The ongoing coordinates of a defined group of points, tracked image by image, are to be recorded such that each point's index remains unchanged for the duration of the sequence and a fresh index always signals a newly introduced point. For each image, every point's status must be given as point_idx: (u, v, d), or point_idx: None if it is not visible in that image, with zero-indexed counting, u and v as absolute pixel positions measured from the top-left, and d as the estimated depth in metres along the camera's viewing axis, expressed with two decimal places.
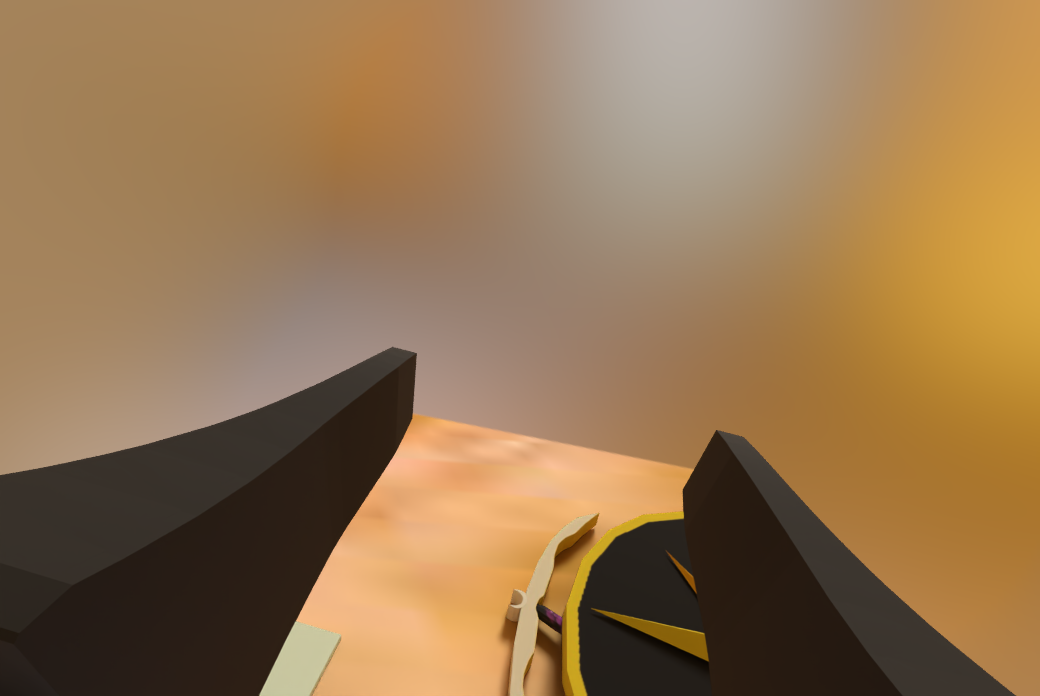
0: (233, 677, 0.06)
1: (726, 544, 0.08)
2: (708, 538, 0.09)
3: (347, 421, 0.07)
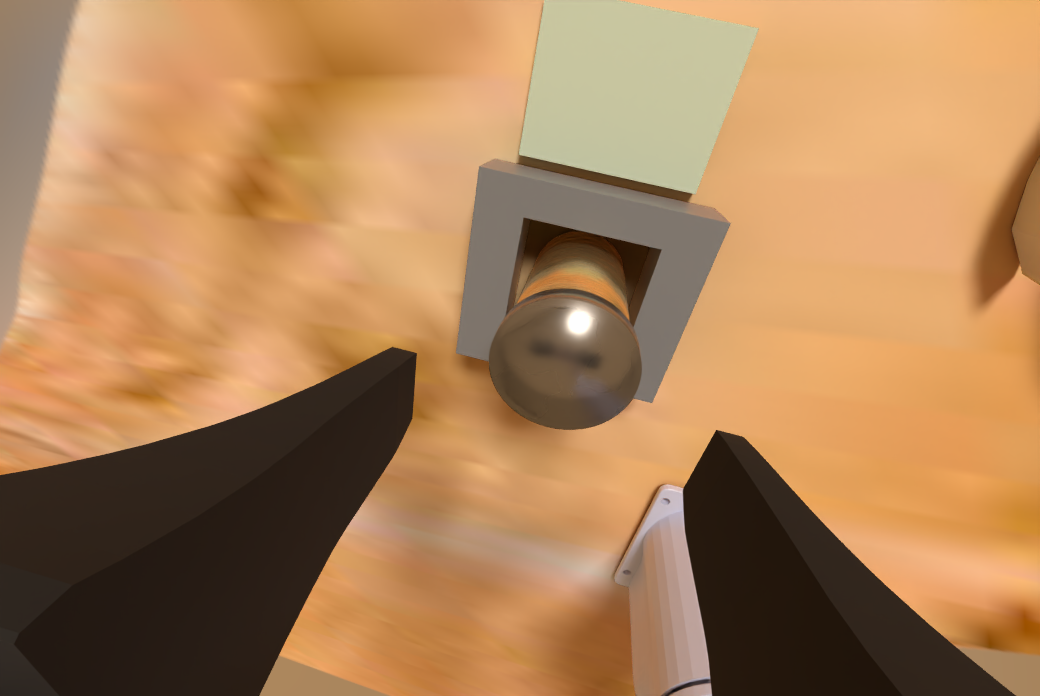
0: (233, 677, 0.06)
1: (726, 544, 0.08)
2: (708, 538, 0.09)
3: (347, 421, 0.07)
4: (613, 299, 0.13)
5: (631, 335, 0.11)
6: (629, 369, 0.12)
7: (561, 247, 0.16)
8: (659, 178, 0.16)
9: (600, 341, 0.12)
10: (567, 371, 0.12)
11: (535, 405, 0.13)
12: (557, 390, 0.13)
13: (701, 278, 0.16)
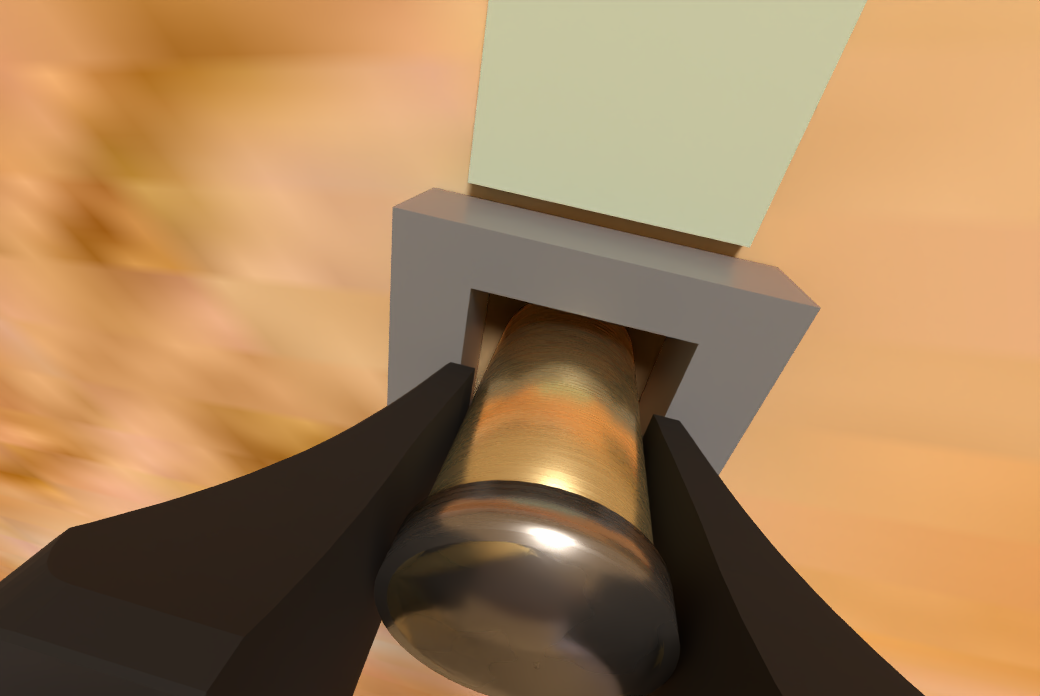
0: None
1: (652, 524, 0.08)
2: None
3: (424, 442, 0.07)
4: (619, 473, 0.07)
5: (660, 601, 0.05)
6: (653, 650, 0.06)
7: (534, 332, 0.10)
8: (692, 222, 0.10)
9: (593, 603, 0.06)
10: (527, 636, 0.06)
11: (470, 669, 0.07)
12: (510, 657, 0.07)
13: (762, 388, 0.10)
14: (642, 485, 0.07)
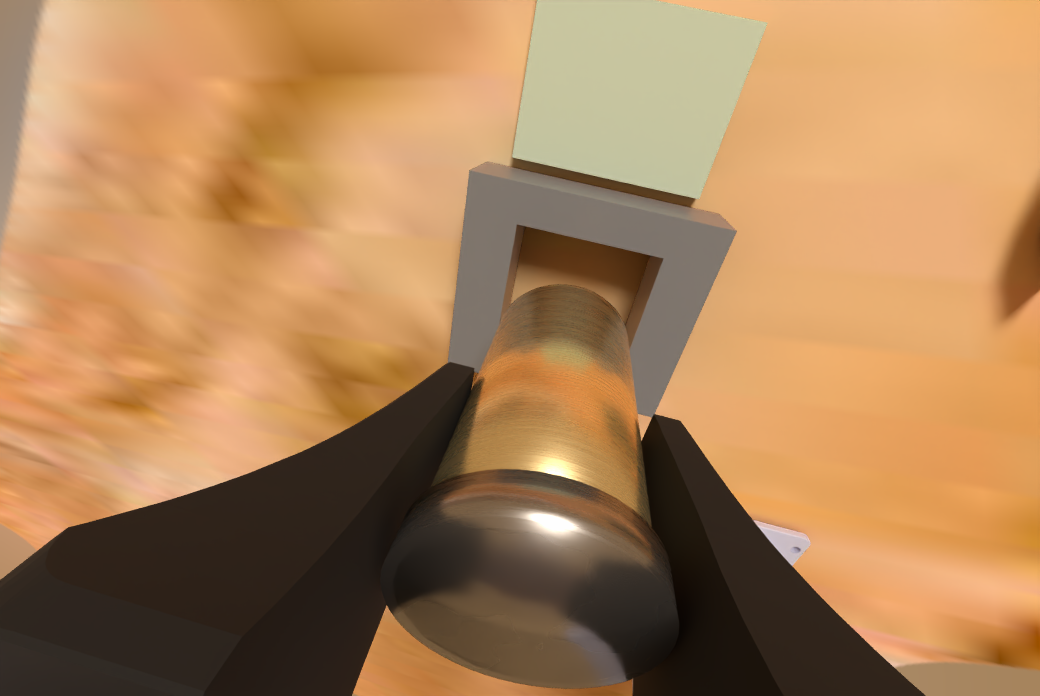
0: None
1: (653, 524, 0.08)
2: None
3: (424, 442, 0.07)
4: (618, 460, 0.07)
5: (660, 582, 0.05)
6: (653, 630, 0.06)
7: (531, 322, 0.10)
8: (661, 182, 0.15)
9: (595, 586, 0.06)
10: (531, 619, 0.06)
11: (476, 653, 0.07)
12: (514, 640, 0.07)
13: (705, 288, 0.15)
14: (640, 471, 0.08)
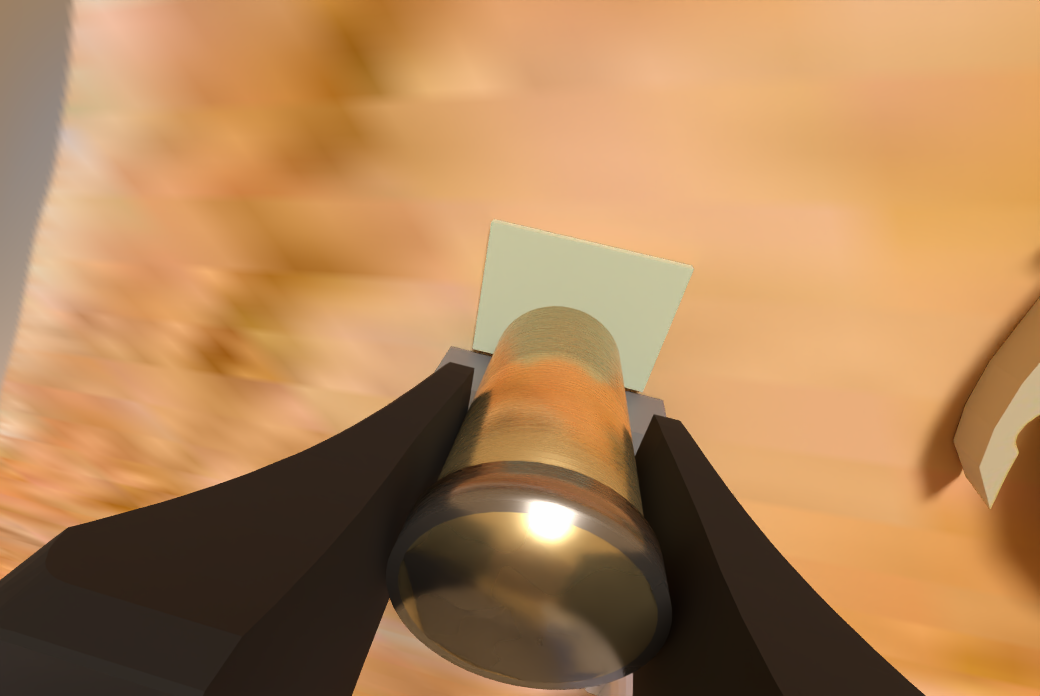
0: None
1: (653, 524, 0.08)
2: None
3: (424, 442, 0.07)
4: (611, 458, 0.07)
5: (652, 564, 0.06)
6: (648, 616, 0.06)
7: (528, 338, 0.11)
8: None
9: (591, 570, 0.06)
10: (531, 610, 0.07)
11: (476, 652, 0.07)
12: (515, 636, 0.07)
13: None
14: (633, 471, 0.08)
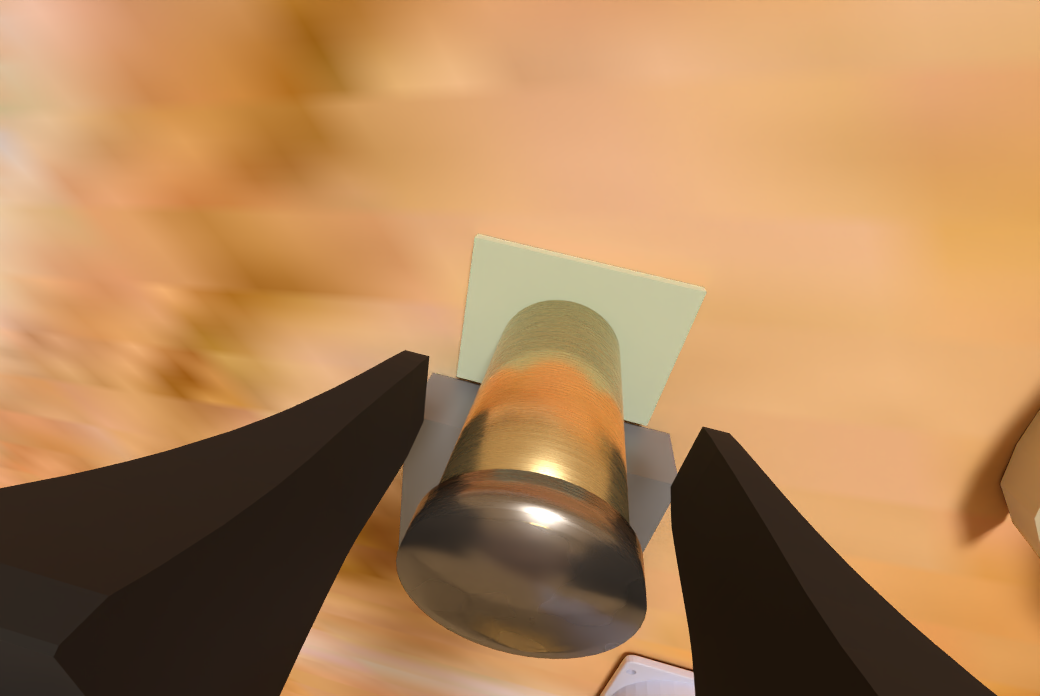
0: (254, 683, 0.06)
1: (710, 540, 0.08)
2: (693, 534, 0.09)
3: (363, 425, 0.07)
4: (599, 461, 0.08)
5: (628, 564, 0.07)
6: (625, 605, 0.07)
7: (529, 336, 0.11)
8: None
9: (575, 567, 0.07)
10: (523, 596, 0.07)
11: (477, 627, 0.08)
12: (510, 615, 0.08)
13: (651, 526, 0.15)
14: (620, 471, 0.09)
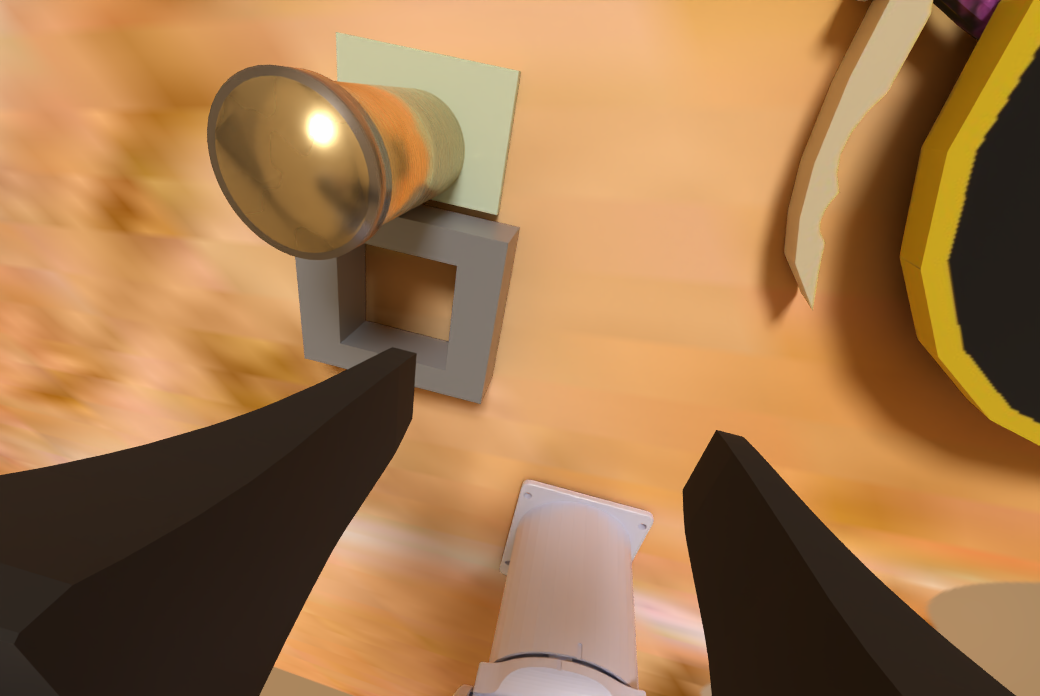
0: (233, 677, 0.06)
1: (726, 544, 0.08)
2: (708, 538, 0.09)
3: (347, 421, 0.07)
4: (367, 101, 0.11)
5: (349, 112, 0.10)
6: (361, 164, 0.10)
7: None
8: (463, 200, 0.18)
9: (318, 124, 0.10)
10: (297, 174, 0.10)
11: (279, 228, 0.11)
12: (296, 204, 0.11)
13: (495, 291, 0.18)
14: (393, 125, 0.12)
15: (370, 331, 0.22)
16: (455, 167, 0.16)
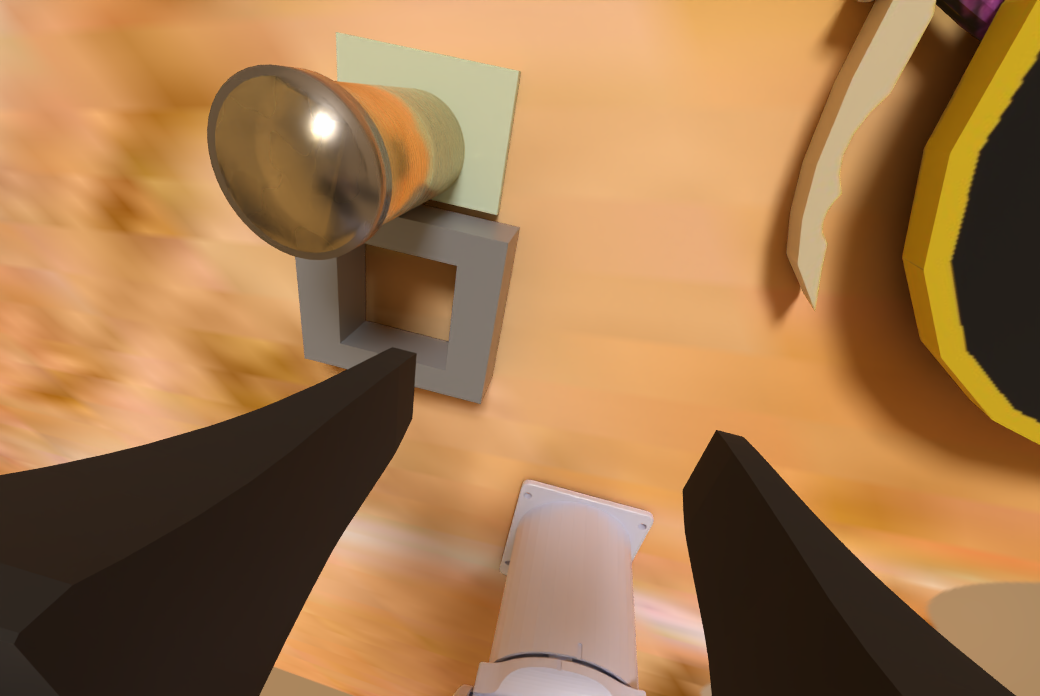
0: (233, 677, 0.06)
1: (726, 544, 0.08)
2: (708, 538, 0.09)
3: (347, 421, 0.07)
4: (367, 101, 0.11)
5: (349, 112, 0.10)
6: (360, 164, 0.10)
7: None
8: (463, 200, 0.18)
9: (318, 124, 0.10)
10: (297, 174, 0.10)
11: (279, 228, 0.11)
12: (296, 204, 0.11)
13: (495, 291, 0.18)
14: (393, 125, 0.12)
15: (370, 331, 0.22)
16: (455, 167, 0.16)
